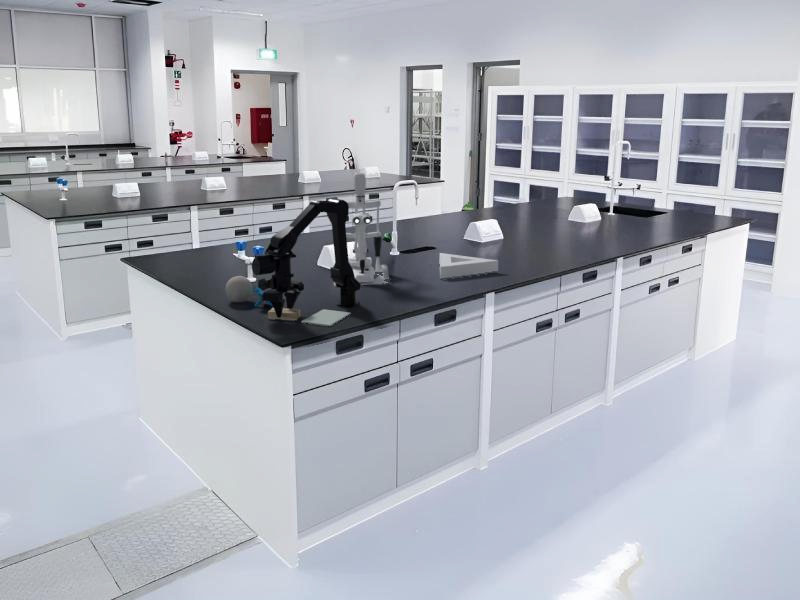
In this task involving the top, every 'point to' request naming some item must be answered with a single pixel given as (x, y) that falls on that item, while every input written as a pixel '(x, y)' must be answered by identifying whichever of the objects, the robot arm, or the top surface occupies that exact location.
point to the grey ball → (239, 289)
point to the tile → (285, 314)
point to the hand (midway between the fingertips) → (284, 314)
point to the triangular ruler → (464, 265)
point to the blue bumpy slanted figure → (259, 293)
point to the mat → (326, 317)
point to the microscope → (361, 262)
